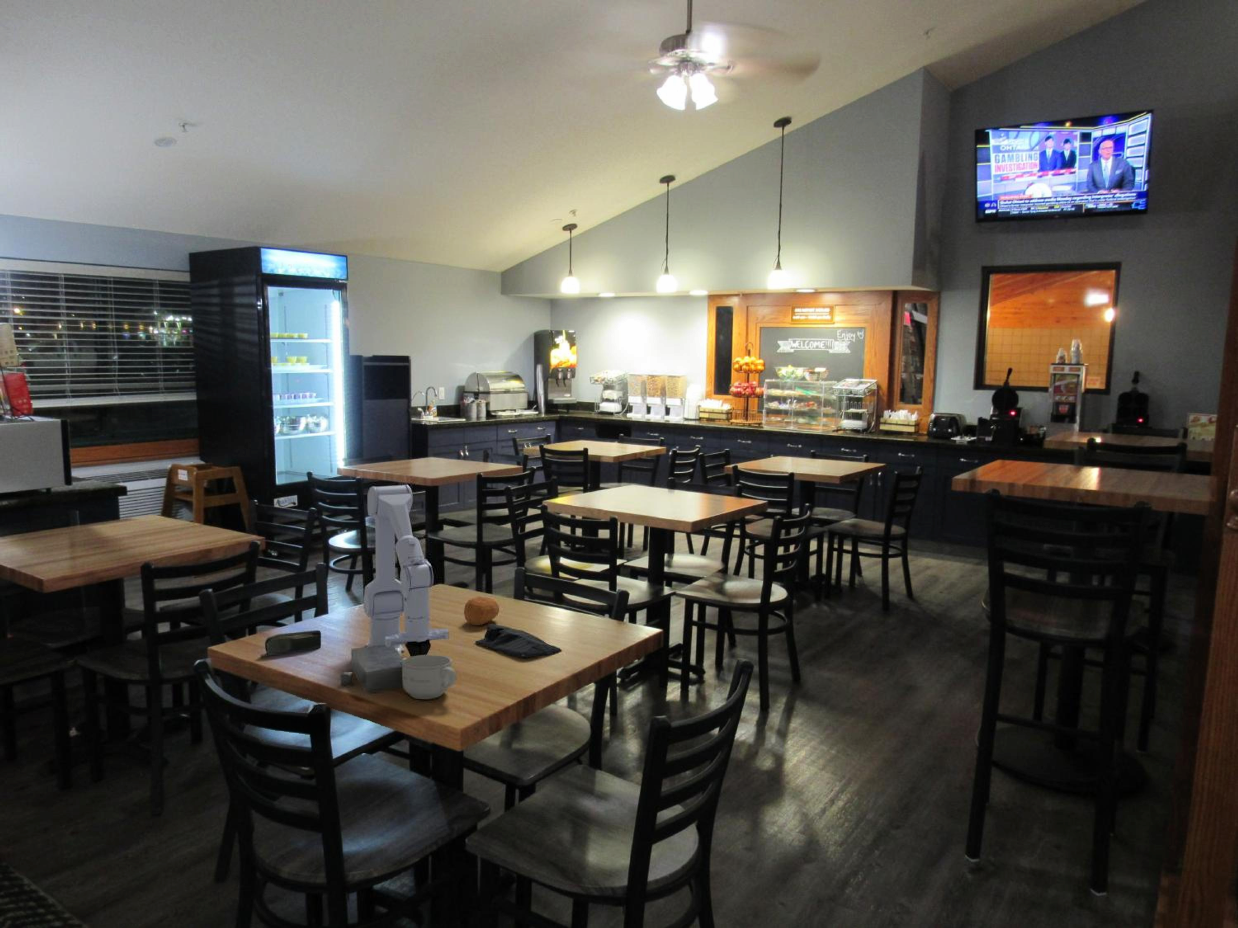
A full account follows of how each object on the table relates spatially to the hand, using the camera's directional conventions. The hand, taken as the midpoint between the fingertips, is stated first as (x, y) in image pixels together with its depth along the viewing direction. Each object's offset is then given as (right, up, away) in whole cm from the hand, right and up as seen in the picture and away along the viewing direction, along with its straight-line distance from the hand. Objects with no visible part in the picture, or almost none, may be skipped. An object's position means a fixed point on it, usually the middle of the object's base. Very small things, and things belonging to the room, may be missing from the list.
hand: (417, 672), depth 197 cm
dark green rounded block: (-37, 0, +19) cm, 42 cm away
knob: (-10, 0, +7) cm, 12 cm away
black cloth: (+20, 0, +25) cm, 33 cm away
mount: (-9, -2, +1) cm, 10 cm away
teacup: (+5, -3, -10) cm, 12 cm away
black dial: (-16, -2, -3) cm, 16 cm away
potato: (+7, +3, +47) cm, 48 cm away
